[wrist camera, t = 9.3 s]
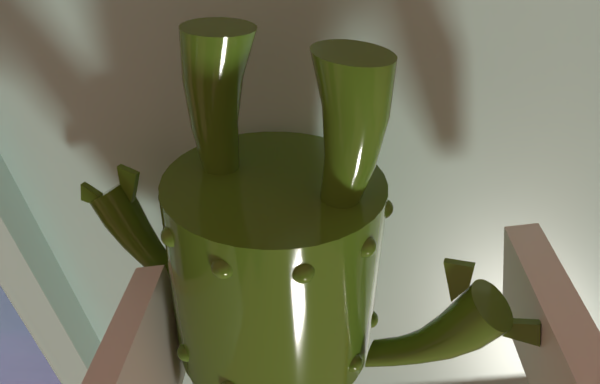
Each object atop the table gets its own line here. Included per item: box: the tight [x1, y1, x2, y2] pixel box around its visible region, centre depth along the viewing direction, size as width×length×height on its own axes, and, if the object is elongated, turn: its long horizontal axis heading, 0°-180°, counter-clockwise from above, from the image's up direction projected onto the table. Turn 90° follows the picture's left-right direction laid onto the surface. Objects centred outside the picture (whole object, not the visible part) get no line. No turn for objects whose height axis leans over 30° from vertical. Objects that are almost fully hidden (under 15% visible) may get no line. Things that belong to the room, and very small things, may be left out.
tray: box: [0, 0, 600, 384], centre depth 16 cm, size 20×20×2 cm
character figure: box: [80, 17, 541, 384], centre depth 13 cm, size 12×5×12 cm
